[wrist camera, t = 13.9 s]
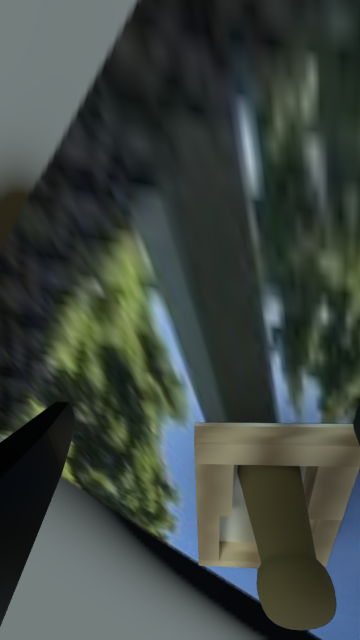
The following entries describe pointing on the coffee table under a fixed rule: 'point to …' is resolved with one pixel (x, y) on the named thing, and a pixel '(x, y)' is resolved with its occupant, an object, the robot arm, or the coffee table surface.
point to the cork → (286, 548)
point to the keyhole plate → (269, 449)
